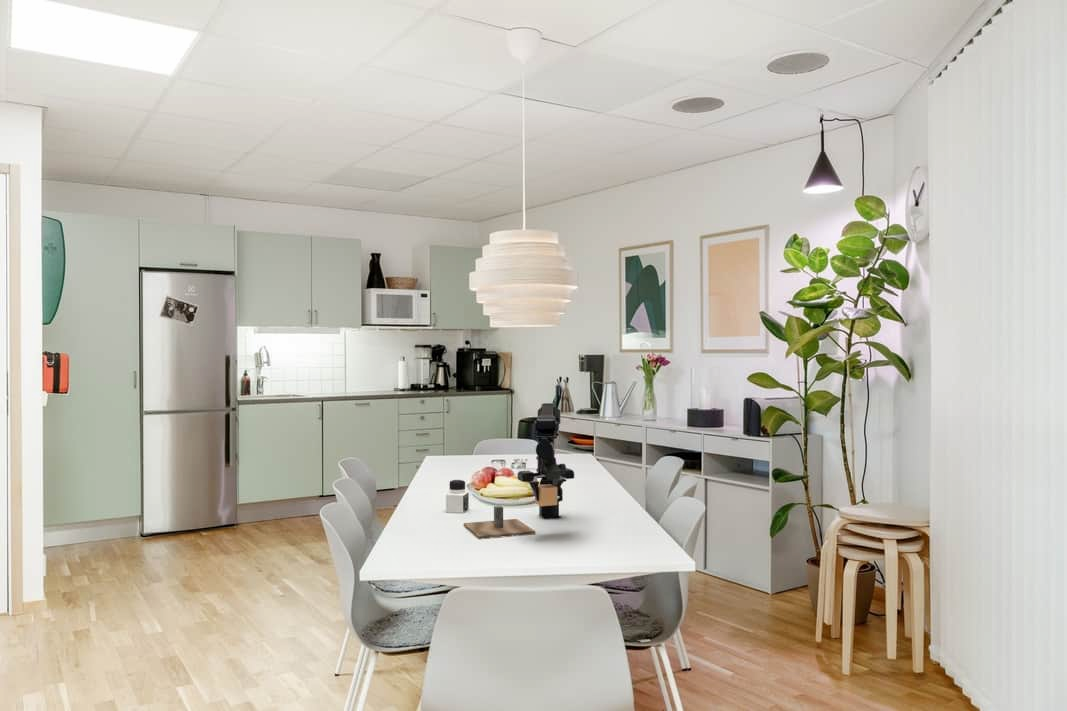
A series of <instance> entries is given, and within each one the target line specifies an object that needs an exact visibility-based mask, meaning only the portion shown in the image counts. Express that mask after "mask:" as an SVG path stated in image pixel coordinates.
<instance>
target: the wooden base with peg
mask: <svg viewBox="0 0 1067 711" xmlns="http://www.w3.org/2000/svg"><path fill="white" fill-rule="evenodd" d="M463 527H464V528H465V529H467V530H468V531H469V532H470V533H471V534H472V535H473V536H475V537H476V539H479V540H481V539H482V538H485V539H491V538H490V537H496V538H502V537H501V536H507V537H513V536H512V535H519V536H524V535H523V534H530V535H536V530H535V529H533V528H531V527H530V526H528V525H527V524H525V523H524V522H523V521H521V520H520V519H518V518H512V519H511V518H510V519H504V507H503V506H502V505H497V506H496V505H495V506H493V520H487V521H471V522H464V523H463Z"/></svg>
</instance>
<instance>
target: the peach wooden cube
mask: <svg viewBox="0 0 1067 711" xmlns="http://www.w3.org/2000/svg"><path fill="white" fill-rule="evenodd" d="M538 490H539V501H537V500H536V498H535V497H534V501H535V502H534V503H535V504H537V505H538V506H539V505H540V506H551V505H557V487H556V486H554V485H552V484H547V485H540V484H539V485H538Z"/></svg>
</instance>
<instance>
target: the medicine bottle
mask: <svg viewBox="0 0 1067 711" xmlns="http://www.w3.org/2000/svg"><path fill="white" fill-rule="evenodd" d="M469 493H470V492H469V491H467V490H466V482H465V480H463V479H453V480H452V479H451V480H450V481H449V492H448V493H446V494H445V512H446V513H447V512H449V514H450V513H451V514H465V513H466V512H467V511H468V510H469V509H470V508H469V507H470V506H469V499H470V498H469Z"/></svg>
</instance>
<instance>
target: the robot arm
mask: <svg viewBox="0 0 1067 711" xmlns="http://www.w3.org/2000/svg"><path fill="white" fill-rule="evenodd" d="M540 405H541V406H540V408H539V409H537V416H536V420H534V429H533V439H537V444H536V447H535V452H536V456H535V458H536V460H537V468H536V472H533V471H531V470H519V471H518V473H517V480H518V481H520V482H523V483H528V484H529V487H530V488H531V490H532V492H533V495H534V499H535V498H536V500H537V501H539V490H538V485H547V484H552V485H554V486H556V487H557V505H551V506H540V505H538V508H539V509H538V510H539V512H538V516H539V517H540V518H542V519H545V520H546V519H547V520H548V519H560V518H561V515H560V504H559V503H560V502H562V501H563V499H564V498H563V496H564V494H563V488H562V485H563V484H564V482H567V480H572V479H573V480H574V479H575V472H574V470H573V469H571V468H569V467H567V465H566V464H565V463H559V464H558V463H557V459H556V458H557V457H555V455H556V452H555V451H556V448H555V446H556V445H555V444H556V440H557V438H558V437H559V436H560V434H559V433H560V431H559V430H560V425H561V421H562V420H561V419H562V418H561V410H560V409H559V408H557V407H556V404H555V403H553V402H549V403H548V402H544V403H541V404H540ZM538 479H540V480H539V481H538Z"/></svg>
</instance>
